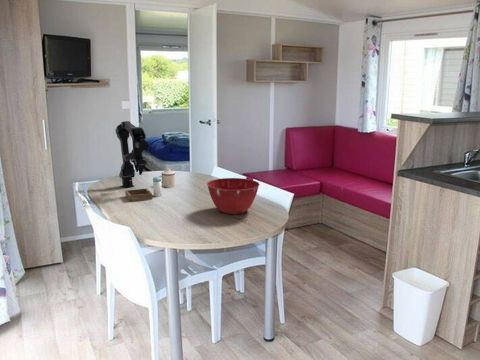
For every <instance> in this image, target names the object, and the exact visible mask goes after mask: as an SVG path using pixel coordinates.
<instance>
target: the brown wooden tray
mask: <svg viewBox="0 0 480 360" xmlns="http://www.w3.org/2000/svg"><path fill="white" fill-rule="evenodd" d="M124 193H125V197H126V199H127V200H128V201H129V202H130V203H133V202H140V201H149V200H153V193H152V191H150V190H149V189H148V188H137V189H128V190H124Z"/></svg>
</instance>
